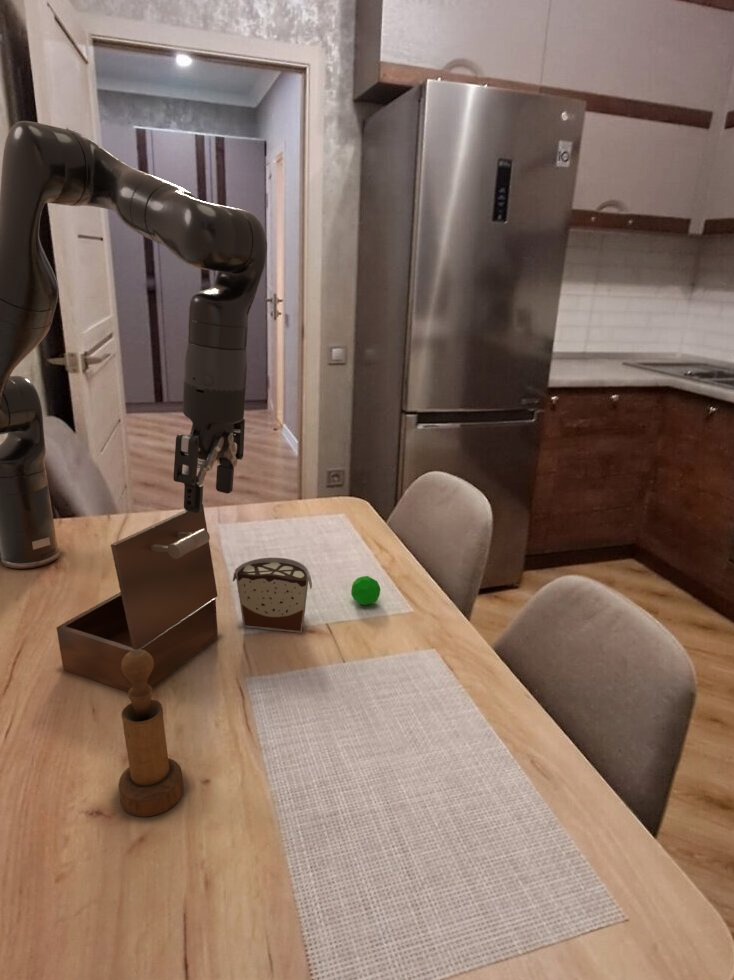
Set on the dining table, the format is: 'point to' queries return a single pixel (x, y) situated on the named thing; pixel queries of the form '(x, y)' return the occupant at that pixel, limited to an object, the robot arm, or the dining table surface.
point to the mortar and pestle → (146, 746)
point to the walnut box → (106, 640)
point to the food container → (273, 593)
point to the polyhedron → (365, 590)
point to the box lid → (164, 574)
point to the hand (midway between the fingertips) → (209, 501)
